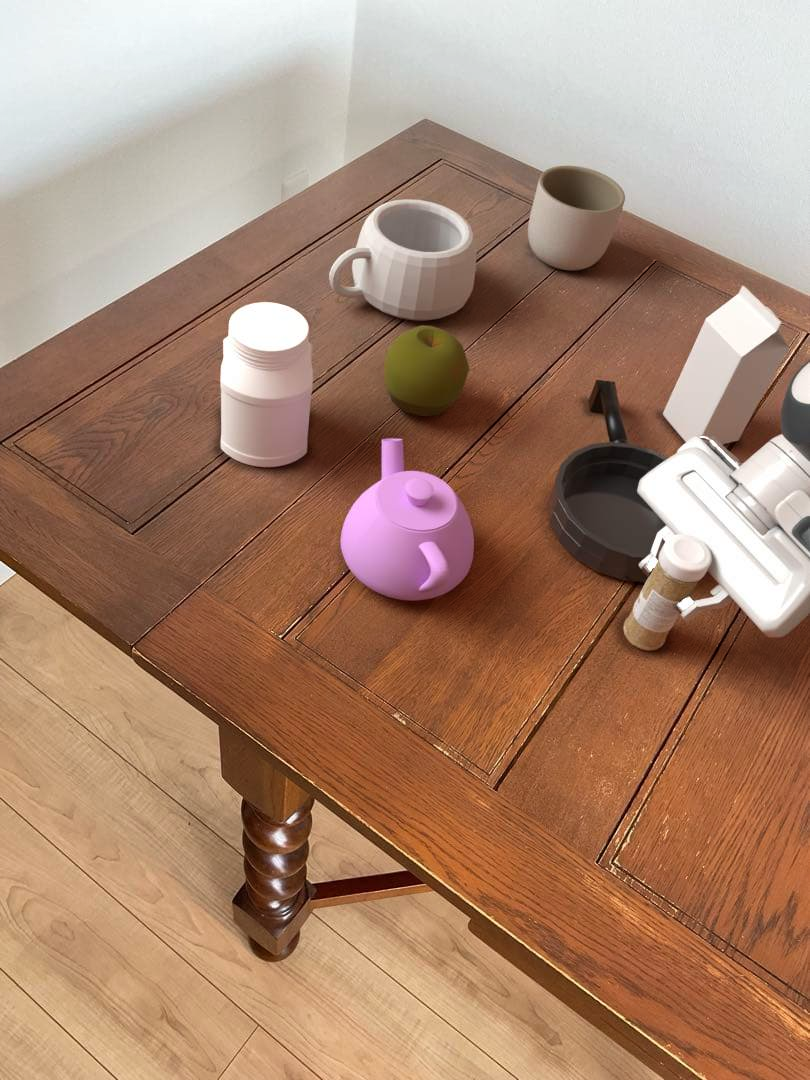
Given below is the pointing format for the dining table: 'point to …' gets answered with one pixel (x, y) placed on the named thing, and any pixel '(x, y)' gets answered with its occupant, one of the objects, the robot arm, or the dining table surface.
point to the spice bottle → (666, 590)
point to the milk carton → (727, 370)
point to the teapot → (407, 533)
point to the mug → (411, 261)
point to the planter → (573, 216)
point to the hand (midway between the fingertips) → (662, 593)
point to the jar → (266, 385)
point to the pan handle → (608, 409)
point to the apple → (425, 370)
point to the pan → (605, 508)
